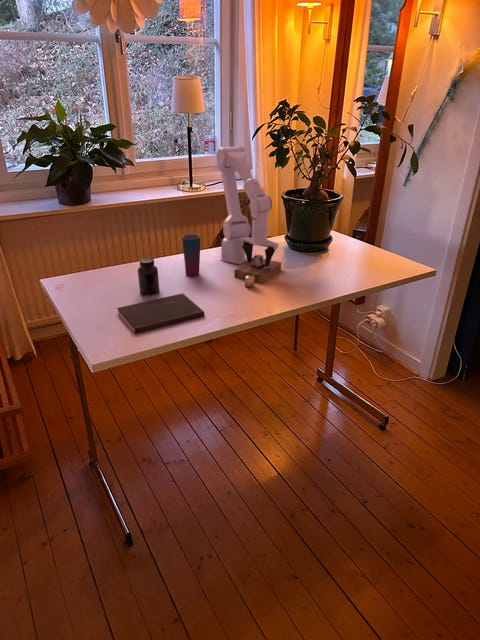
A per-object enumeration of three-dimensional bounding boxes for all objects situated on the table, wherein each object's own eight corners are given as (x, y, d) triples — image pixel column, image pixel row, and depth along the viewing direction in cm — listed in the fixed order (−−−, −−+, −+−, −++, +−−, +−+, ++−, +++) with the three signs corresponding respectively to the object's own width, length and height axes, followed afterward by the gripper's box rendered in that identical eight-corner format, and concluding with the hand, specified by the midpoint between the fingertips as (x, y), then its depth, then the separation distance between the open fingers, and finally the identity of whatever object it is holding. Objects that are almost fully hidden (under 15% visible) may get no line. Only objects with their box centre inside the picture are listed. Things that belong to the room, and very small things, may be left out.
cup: (180, 276, 177) (178, 237, 170) (188, 269, 183) (187, 232, 176) (196, 279, 175) (195, 240, 168) (204, 272, 180) (203, 235, 173)
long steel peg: (251, 273, 180) (252, 256, 177) (256, 271, 183) (257, 254, 179) (259, 275, 179) (260, 258, 175) (263, 273, 181) (264, 256, 178)
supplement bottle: (152, 286, 168) (149, 254, 163) (163, 292, 164) (161, 259, 158) (135, 291, 164) (132, 259, 158) (147, 297, 160) (144, 264, 154)
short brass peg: (243, 287, 169) (243, 277, 167) (247, 284, 172) (247, 274, 170) (251, 289, 168) (251, 279, 166) (255, 286, 170) (256, 275, 168)
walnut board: (234, 276, 177) (234, 269, 176) (253, 263, 190) (254, 256, 188) (263, 283, 172) (263, 276, 171) (280, 269, 185) (281, 262, 183)
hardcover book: (117, 314, 150) (116, 307, 149) (183, 299, 161) (182, 293, 160) (135, 336, 138) (134, 329, 137) (204, 318, 149) (204, 311, 148)
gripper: (237, 228, 173) (236, 263, 179) (273, 235, 167) (271, 270, 173) (246, 224, 178) (245, 257, 184) (281, 230, 172) (279, 264, 178)
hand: (258, 263), depth 179 cm, fingers open, 7 cm apart
